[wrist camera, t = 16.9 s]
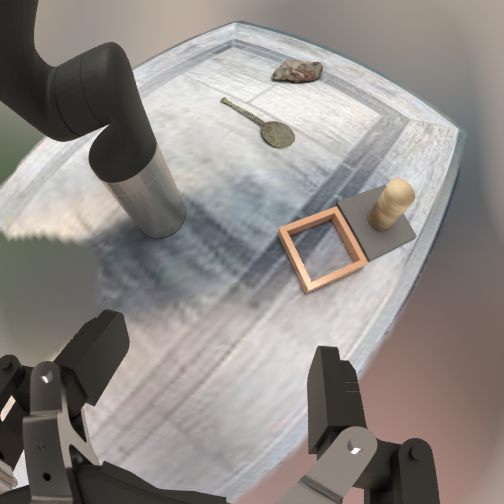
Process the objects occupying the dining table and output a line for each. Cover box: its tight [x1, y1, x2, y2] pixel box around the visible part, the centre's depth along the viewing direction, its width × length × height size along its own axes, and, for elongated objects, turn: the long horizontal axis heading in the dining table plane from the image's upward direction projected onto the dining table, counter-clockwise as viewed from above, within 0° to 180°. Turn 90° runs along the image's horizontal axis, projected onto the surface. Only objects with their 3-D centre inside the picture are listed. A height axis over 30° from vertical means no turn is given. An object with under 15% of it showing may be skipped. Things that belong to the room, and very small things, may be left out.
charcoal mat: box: [336, 185, 417, 262], centre depth 46 cm, size 12×12×1 cm
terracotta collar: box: [278, 206, 368, 294], centre depth 43 cm, size 11×11×2 cm
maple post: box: [368, 178, 415, 232], centre depth 40 cm, size 5×5×10 cm
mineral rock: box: [271, 60, 323, 83], centre depth 60 cm, size 15×8×4 cm, turn 93°
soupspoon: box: [220, 97, 295, 149], centre depth 55 cm, size 22×3×7 cm
